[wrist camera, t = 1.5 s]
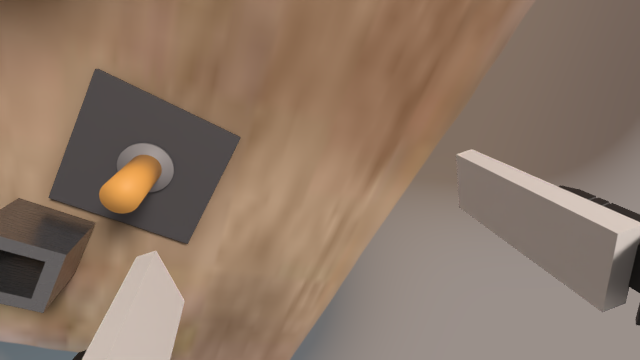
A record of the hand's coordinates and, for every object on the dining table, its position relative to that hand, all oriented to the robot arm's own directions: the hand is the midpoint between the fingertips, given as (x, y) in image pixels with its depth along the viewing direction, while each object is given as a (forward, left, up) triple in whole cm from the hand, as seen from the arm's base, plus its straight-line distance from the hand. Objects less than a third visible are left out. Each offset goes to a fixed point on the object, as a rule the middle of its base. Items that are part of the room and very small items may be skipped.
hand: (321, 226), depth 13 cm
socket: (-16, -22, -23) cm, 35 cm away
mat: (-10, -10, -23) cm, 27 cm away
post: (-10, -10, -23) cm, 27 cm away
